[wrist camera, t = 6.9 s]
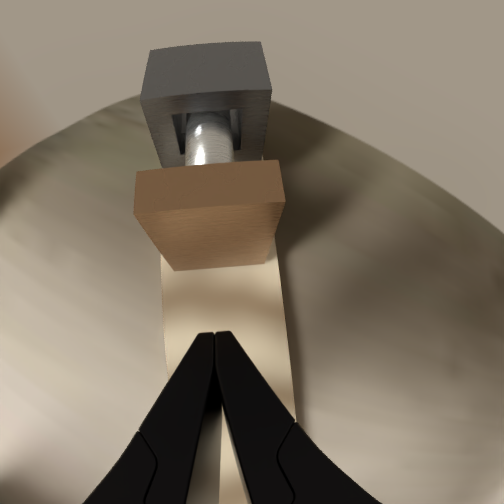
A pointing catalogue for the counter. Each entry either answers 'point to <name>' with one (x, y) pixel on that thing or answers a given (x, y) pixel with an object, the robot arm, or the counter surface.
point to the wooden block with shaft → (211, 201)
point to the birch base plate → (239, 323)
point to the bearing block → (207, 95)
